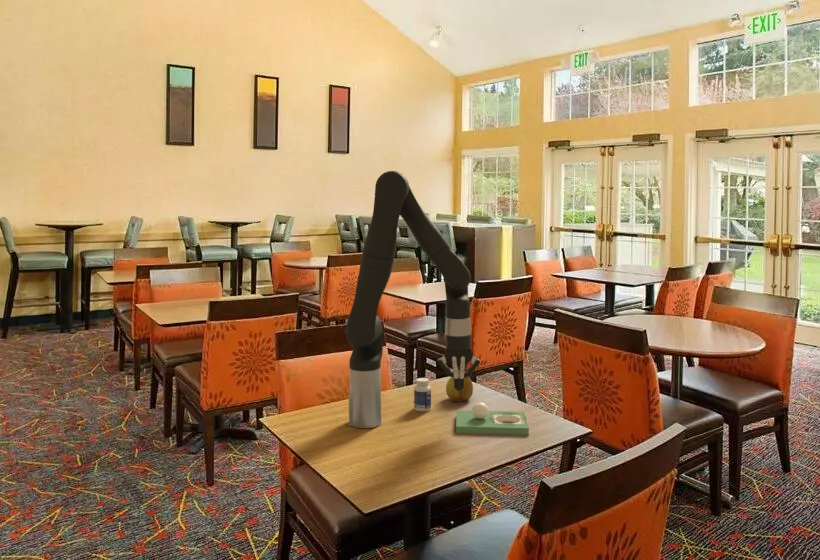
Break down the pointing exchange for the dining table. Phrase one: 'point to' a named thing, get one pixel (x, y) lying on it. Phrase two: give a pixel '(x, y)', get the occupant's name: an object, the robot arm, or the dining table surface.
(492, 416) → the green flat block
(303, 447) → the dining table surface
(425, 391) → the pill bottle
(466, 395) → the fruit
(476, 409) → the ball
